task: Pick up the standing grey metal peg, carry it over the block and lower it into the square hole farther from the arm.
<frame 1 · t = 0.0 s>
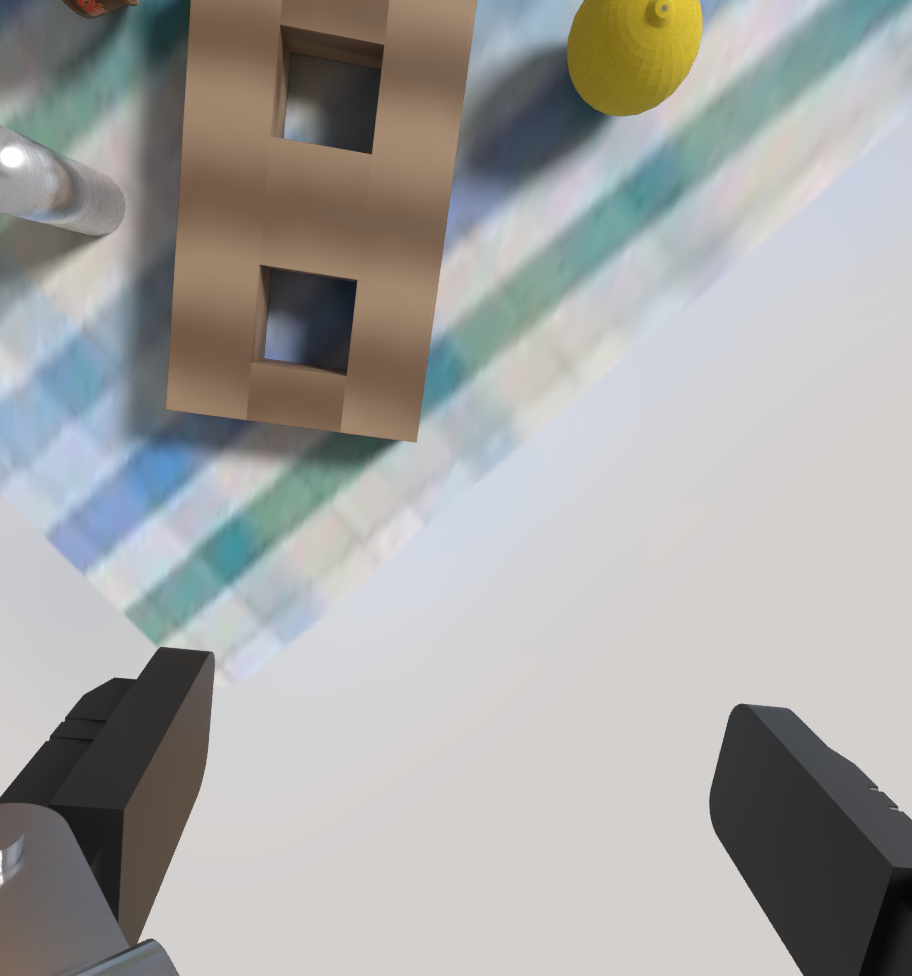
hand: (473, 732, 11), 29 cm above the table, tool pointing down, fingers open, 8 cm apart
peg: (93, 203, 36), on the table
lemon: (605, 74, 36), on the table
hole block: (322, 219, 37), on the table
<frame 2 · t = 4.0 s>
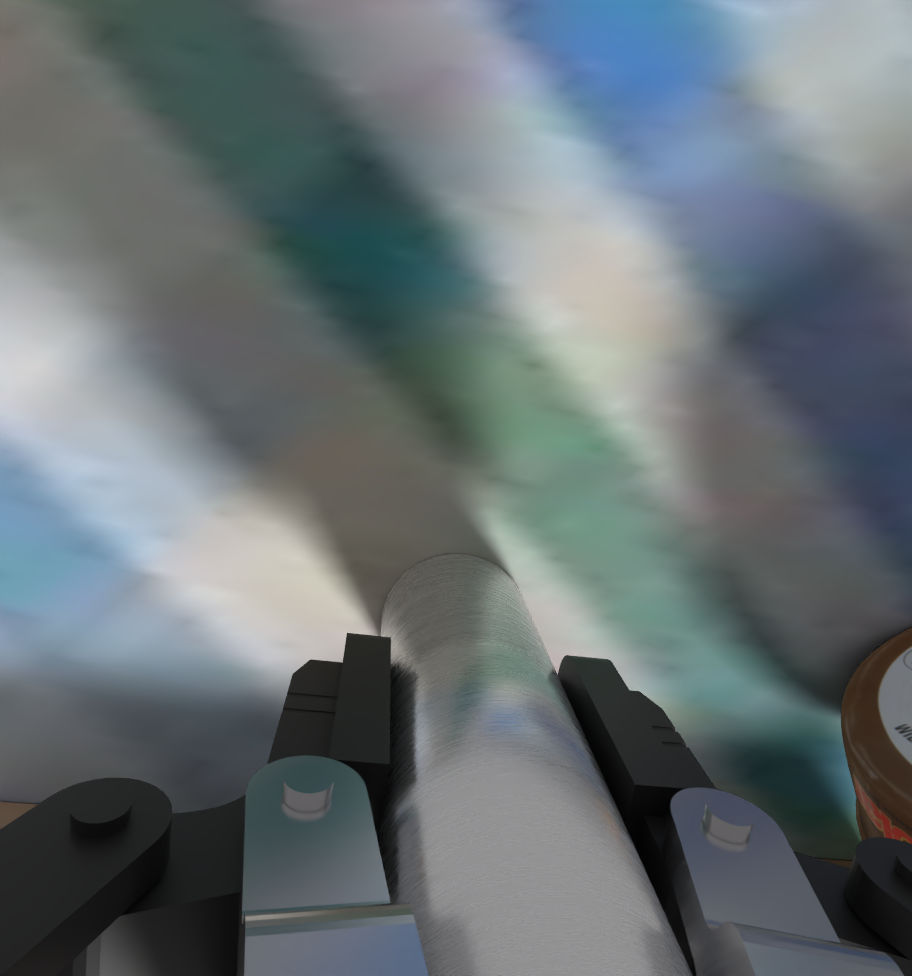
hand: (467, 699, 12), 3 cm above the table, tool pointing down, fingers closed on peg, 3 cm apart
peg: (454, 622, 15), on the table, touching gripper
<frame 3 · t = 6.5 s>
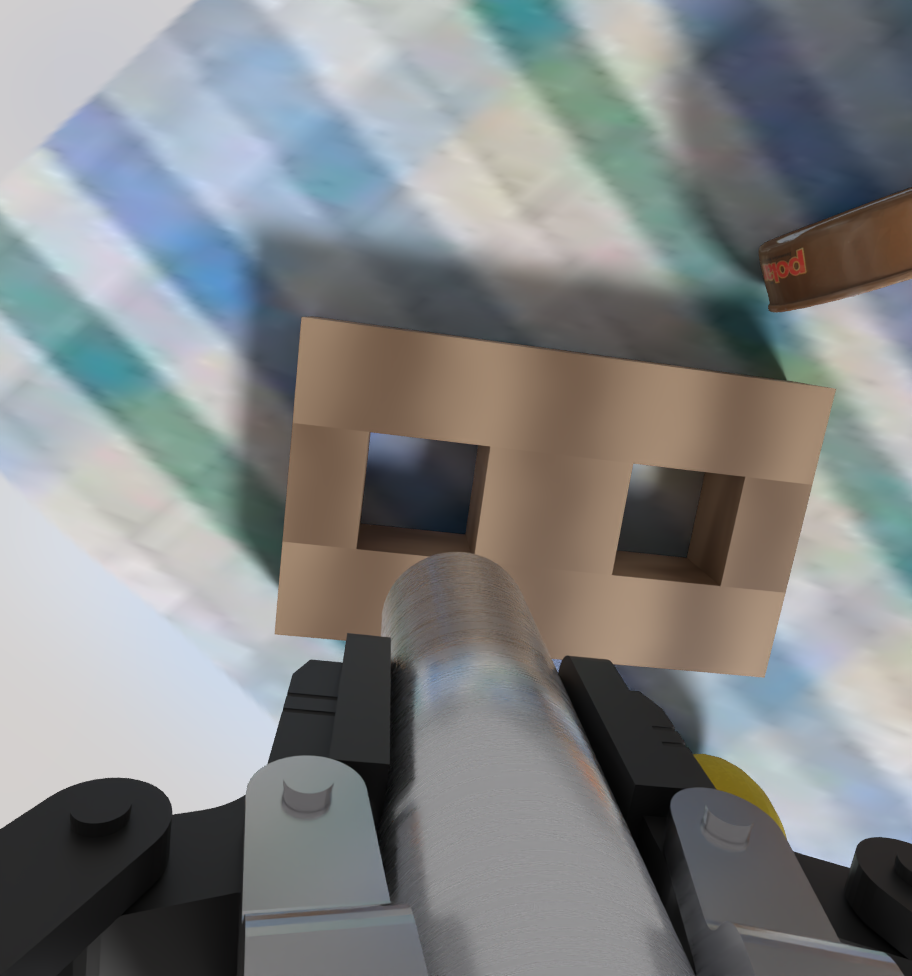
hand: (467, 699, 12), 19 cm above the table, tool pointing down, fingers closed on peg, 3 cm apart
peg: (454, 620, 15), point 16 cm above the table, touching gripper
tin: (893, 220, 30), on the table
lemon: (674, 770, 35), on the table
hole block: (535, 491, 31), on the table
when the fingers open (5 cm above the table, at t = 9.4 s): peg drops 1 cm, resting in hole block.
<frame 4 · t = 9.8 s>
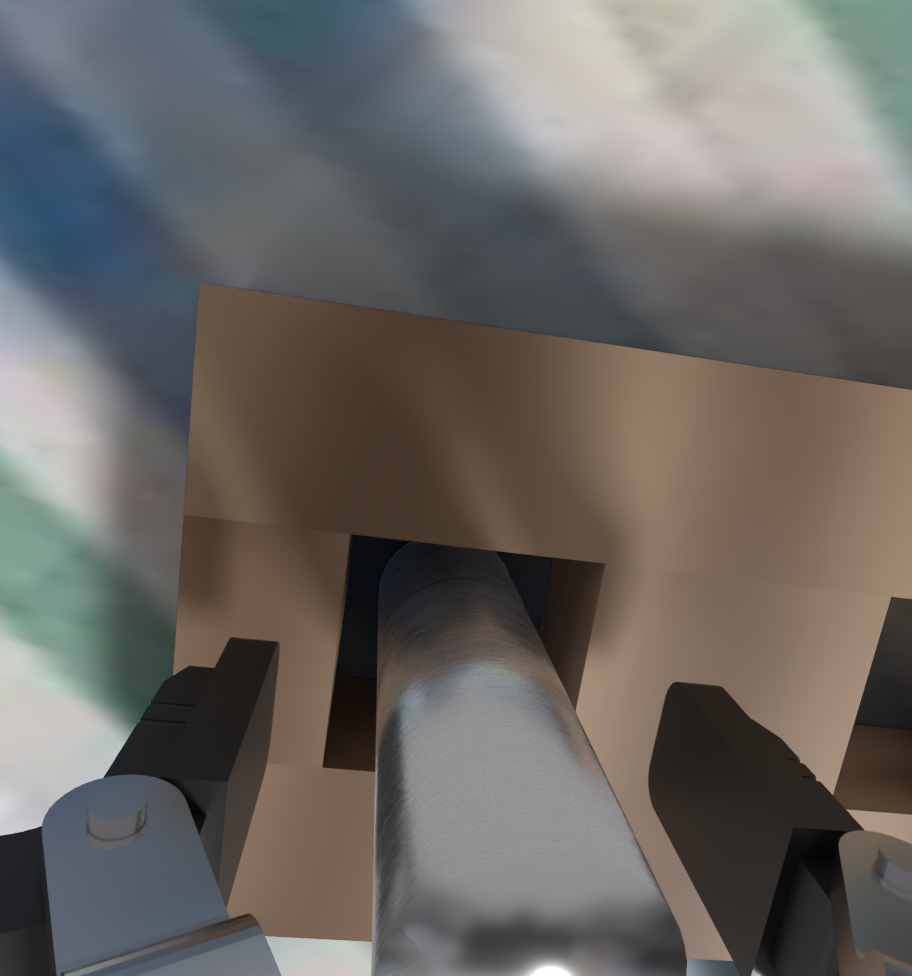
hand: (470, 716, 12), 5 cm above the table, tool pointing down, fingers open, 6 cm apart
peg: (445, 593, 17), resting in hole block
hole block: (658, 617, 17), on the table
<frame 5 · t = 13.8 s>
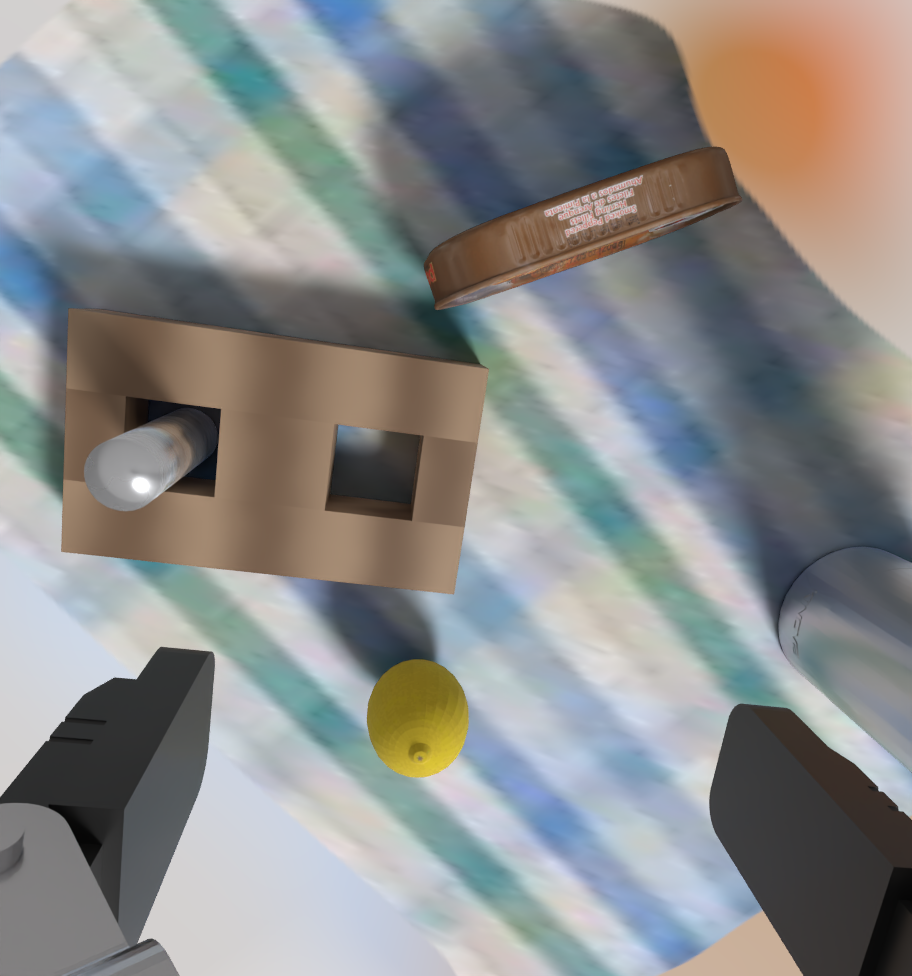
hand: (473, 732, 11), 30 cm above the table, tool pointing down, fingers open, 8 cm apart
peg: (189, 435, 39), resting in hole block
tin: (557, 240, 39), on the table
lemon: (415, 678, 44), on the table
hole block: (284, 448, 40), on the table
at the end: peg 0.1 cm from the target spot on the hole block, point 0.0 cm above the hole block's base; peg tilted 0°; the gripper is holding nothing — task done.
